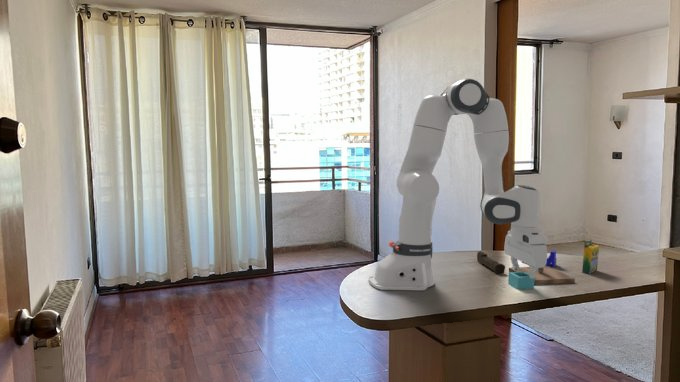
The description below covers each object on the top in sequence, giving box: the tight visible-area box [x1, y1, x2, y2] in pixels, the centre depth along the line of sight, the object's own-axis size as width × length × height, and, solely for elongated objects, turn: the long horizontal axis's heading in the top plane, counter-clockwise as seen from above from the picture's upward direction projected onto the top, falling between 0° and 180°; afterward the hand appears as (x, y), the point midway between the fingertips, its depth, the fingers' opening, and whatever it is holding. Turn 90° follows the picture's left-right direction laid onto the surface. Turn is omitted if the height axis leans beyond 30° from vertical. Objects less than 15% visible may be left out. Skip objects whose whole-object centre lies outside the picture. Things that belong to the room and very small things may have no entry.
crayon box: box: [581, 239, 600, 275], centre depth 184 cm, size 7×3×12 cm, turn 132°
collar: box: [507, 271, 535, 290], centre depth 166 cm, size 6×6×4 cm
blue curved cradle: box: [521, 250, 557, 268], centre depth 195 cm, size 12×4×6 cm, turn 56°
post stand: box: [508, 266, 576, 285], centre depth 176 cm, size 16×16×10 cm
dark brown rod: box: [476, 251, 506, 275], centre depth 189 cm, size 19×4×5 cm, turn 7°
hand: (523, 273), depth 166 cm, fingers open, 8 cm apart
